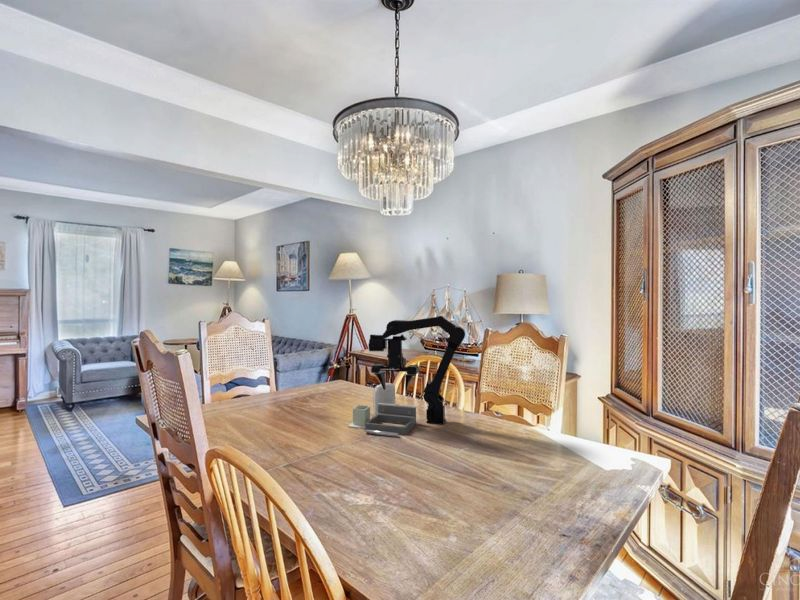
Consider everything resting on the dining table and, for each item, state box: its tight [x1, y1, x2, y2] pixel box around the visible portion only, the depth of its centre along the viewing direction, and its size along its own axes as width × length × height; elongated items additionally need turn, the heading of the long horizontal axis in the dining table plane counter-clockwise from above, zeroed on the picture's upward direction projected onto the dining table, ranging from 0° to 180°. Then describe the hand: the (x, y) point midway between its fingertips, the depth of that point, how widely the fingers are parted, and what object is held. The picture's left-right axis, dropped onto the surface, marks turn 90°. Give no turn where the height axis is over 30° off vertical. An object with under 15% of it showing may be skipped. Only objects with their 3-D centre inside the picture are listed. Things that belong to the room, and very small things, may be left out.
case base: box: [364, 413, 416, 435], centre depth 155 cm, size 16×13×3 cm
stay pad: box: [347, 422, 365, 430], centre depth 159 cm, size 7×10×1 cm
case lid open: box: [378, 403, 417, 424], centre depth 162 cm, size 16×2×6 cm, turn 72°
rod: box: [365, 429, 400, 438], centre depth 146 cm, size 12×1×1 cm, turn 72°
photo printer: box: [373, 382, 396, 415], centre depth 175 cm, size 10×4×12 cm, turn 134°
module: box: [352, 404, 371, 426], centre depth 159 cm, size 5×5×6 cm
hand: (395, 390), depth 165 cm, fingers open, 9 cm apart
